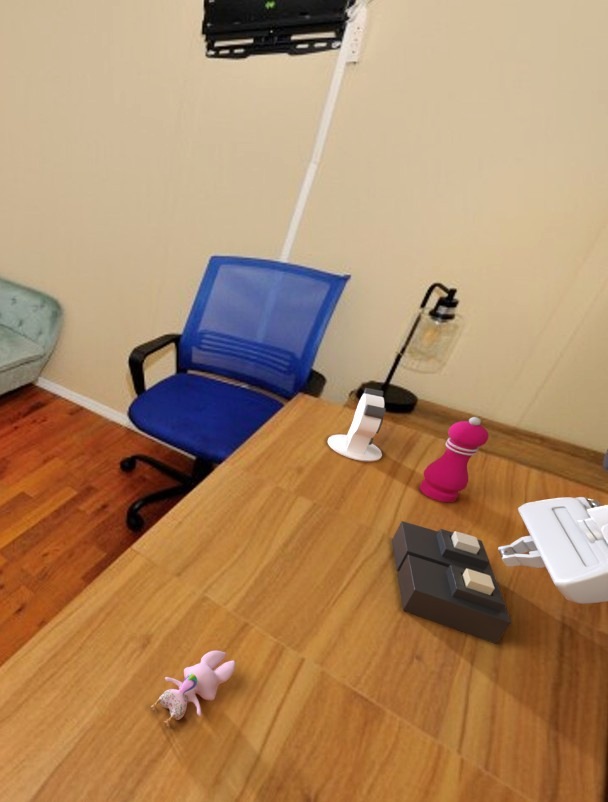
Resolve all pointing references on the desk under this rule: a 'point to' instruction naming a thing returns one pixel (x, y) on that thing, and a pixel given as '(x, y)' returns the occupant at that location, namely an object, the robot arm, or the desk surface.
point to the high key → (478, 581)
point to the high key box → (451, 599)
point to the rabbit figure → (196, 684)
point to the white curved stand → (362, 429)
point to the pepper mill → (454, 461)
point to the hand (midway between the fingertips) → (502, 557)
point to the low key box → (436, 549)
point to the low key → (465, 542)
